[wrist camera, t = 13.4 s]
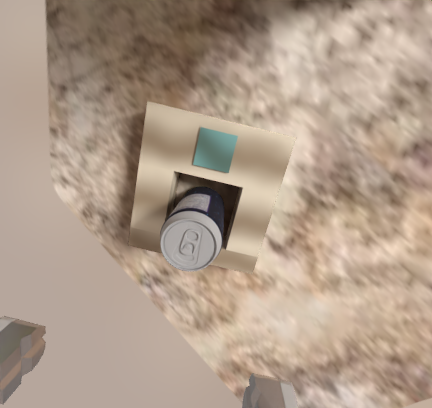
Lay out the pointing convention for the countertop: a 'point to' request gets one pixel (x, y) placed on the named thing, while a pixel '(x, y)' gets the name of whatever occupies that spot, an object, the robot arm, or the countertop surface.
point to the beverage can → (194, 230)
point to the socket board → (208, 177)
